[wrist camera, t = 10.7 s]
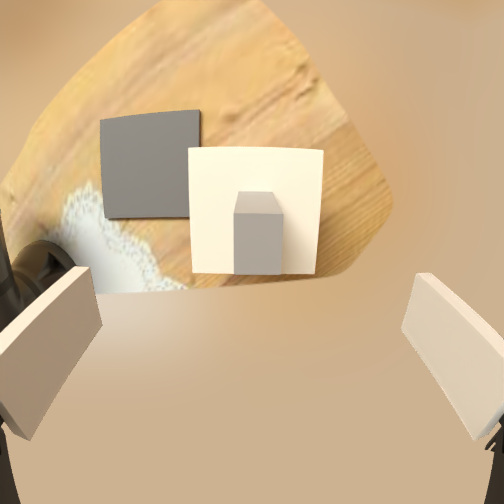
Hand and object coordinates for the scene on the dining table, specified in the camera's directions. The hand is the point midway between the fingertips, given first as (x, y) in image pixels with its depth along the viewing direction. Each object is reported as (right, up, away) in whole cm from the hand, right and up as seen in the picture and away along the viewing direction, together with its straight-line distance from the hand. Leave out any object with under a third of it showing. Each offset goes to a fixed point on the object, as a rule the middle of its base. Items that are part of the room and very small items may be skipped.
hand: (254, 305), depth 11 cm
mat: (-14, +13, +26) cm, 32 cm away
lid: (0, +6, +17) cm, 18 cm away
